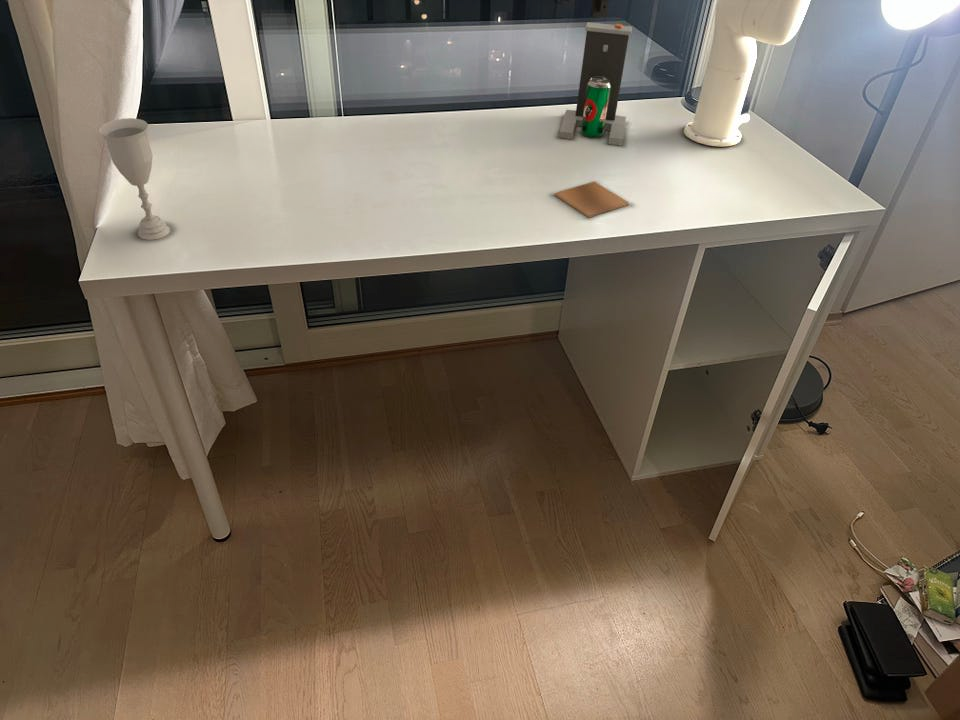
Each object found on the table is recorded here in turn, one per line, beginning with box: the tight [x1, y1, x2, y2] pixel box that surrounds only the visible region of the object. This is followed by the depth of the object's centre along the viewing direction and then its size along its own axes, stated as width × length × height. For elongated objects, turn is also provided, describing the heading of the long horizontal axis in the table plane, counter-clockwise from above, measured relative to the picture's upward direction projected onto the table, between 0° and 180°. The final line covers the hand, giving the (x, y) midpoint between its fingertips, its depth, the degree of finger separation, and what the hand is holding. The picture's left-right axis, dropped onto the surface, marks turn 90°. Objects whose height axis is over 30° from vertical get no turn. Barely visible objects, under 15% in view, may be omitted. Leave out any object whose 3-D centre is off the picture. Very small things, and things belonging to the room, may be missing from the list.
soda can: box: [580, 76, 611, 139], centre depth 154 cm, size 5×5×12 cm
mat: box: [554, 181, 630, 218], centre depth 134 cm, size 10×10×1 cm
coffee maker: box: [558, 21, 633, 147], centre depth 153 cm, size 14×14×21 cm
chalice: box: [98, 117, 171, 241], centre depth 112 cm, size 7×7×18 cm
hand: (579, 9), depth 120 cm, fingers open, 9 cm apart
